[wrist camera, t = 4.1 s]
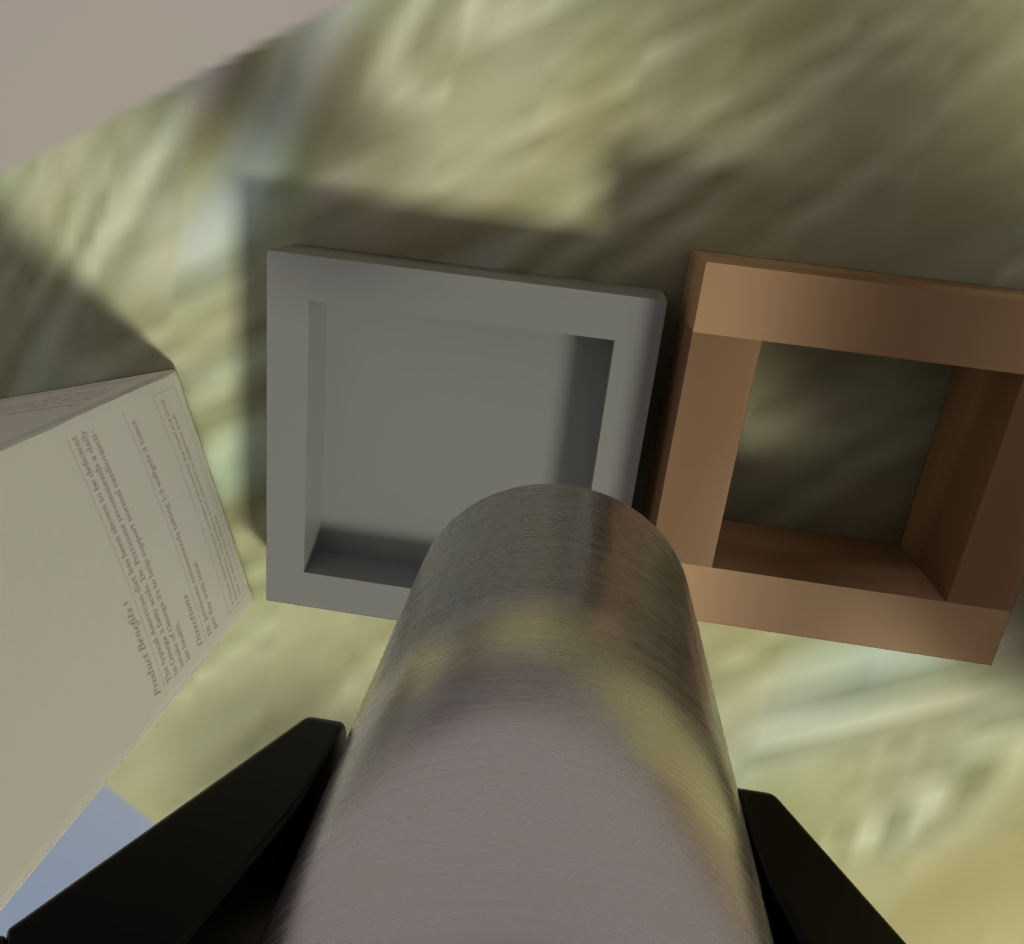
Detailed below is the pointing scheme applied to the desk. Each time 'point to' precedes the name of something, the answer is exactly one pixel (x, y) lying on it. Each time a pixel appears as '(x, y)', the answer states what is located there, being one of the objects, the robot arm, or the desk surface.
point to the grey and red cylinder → (534, 752)
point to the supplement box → (99, 592)
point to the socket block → (942, 488)
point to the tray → (434, 408)
